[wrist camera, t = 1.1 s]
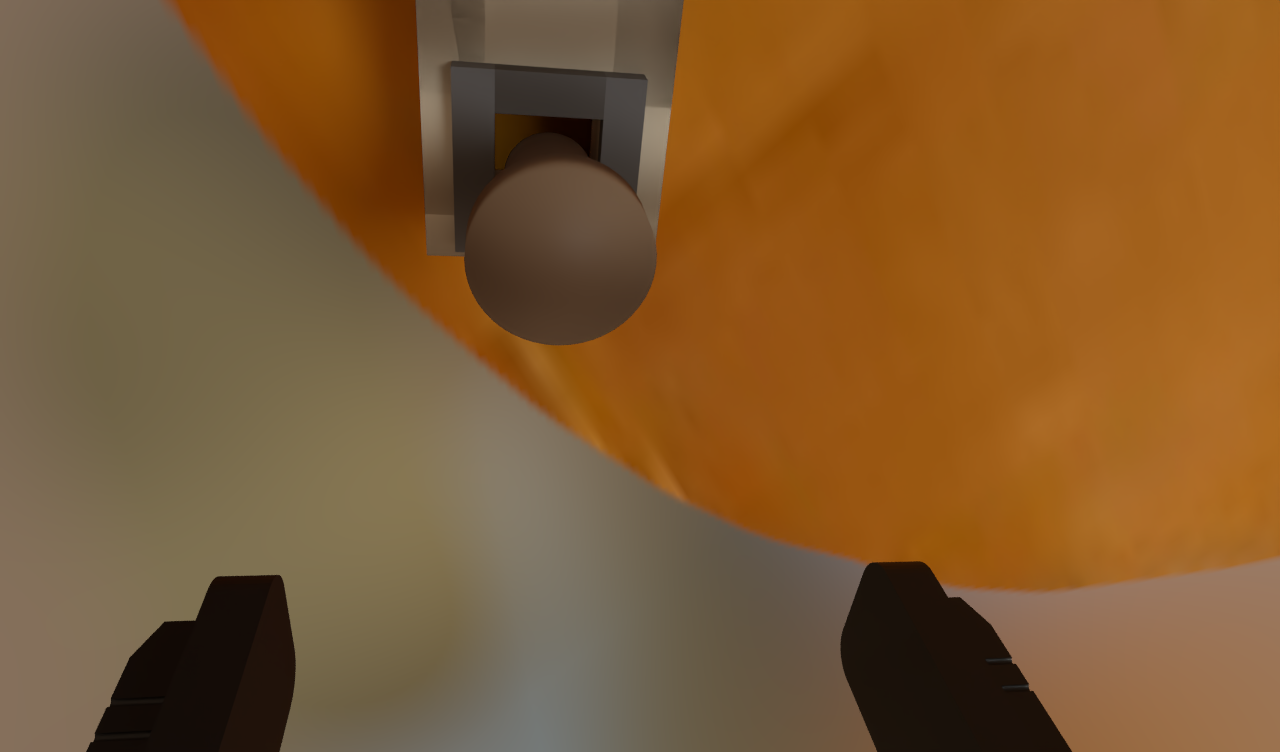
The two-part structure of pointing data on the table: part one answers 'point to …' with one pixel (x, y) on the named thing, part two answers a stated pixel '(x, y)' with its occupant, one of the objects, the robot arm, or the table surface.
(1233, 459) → the table surface
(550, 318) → the brown mushroom knob
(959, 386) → the table surface
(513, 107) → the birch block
